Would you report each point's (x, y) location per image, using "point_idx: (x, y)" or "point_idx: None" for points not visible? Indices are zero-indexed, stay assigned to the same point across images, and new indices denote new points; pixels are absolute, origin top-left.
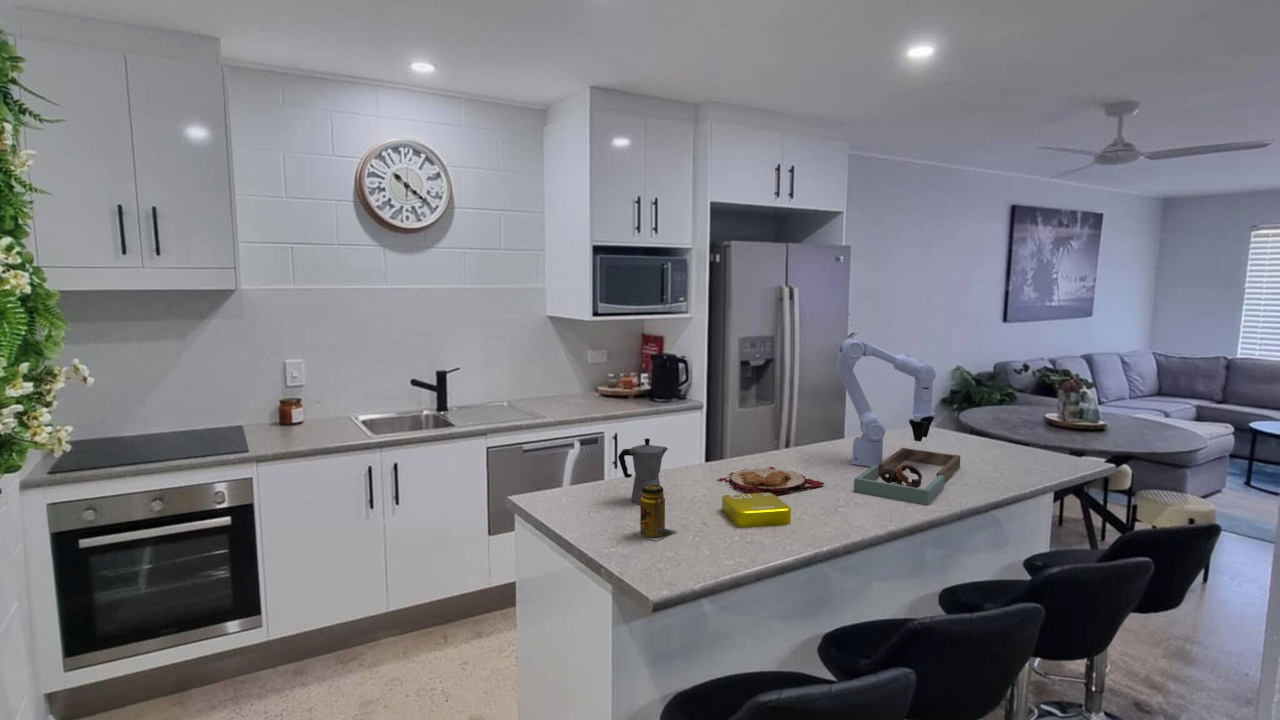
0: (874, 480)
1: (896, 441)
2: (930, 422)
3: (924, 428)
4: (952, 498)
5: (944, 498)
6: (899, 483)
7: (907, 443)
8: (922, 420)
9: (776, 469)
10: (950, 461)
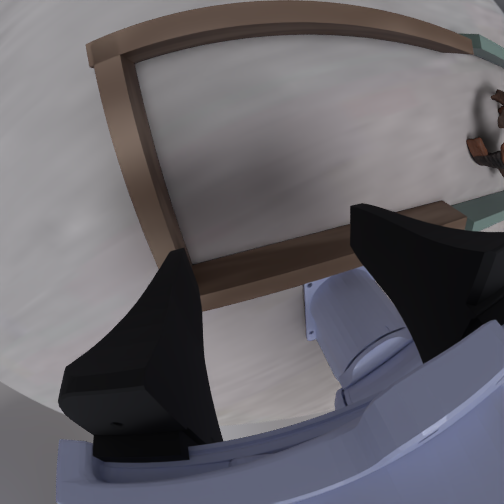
0: (469, 201)
1: (31, 374)
2: (162, 336)
3: (434, 236)
4: (482, 20)
5: (490, 36)
6: (469, 144)
7: (16, 353)
8: (203, 403)
9: None
10: (281, 16)
